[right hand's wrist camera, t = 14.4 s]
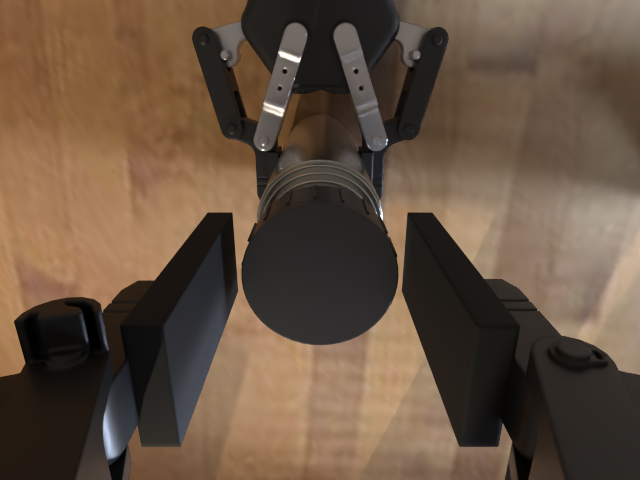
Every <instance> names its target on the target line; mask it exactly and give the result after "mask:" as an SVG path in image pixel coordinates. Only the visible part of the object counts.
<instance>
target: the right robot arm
mask: <svg viewBox="0 0 640 480" xmlns="http://www.w3.org/2000/svg"><path fill="white" fill-rule="evenodd" d="M237 293H238V284H237V270H236V256H235V242H234V229H233V215H232V213H207V214H206V216H205V217H204V218H203V220H202V221H201V222H200V223H199V225H198V226H197V227H196V229H195V230H194V231H193V232H192V234H191V235H190V236H189V237H188V239H187V240H186V241H185V243H184V244H183V245H182V246H181V248H180V249H179V250H178V252H177V253H176V254H175V255H174V257H173V258H172V259H171V260H170V262H169V263H168V264H167V266H166V267H165V268H164V269H163V271H162V272H161V273H160V275H159V276H158V277H157V278H156V280H155V281H137V282H135V283H133V284H132V285H130V286H128V287H126V288H125V289H123V290H121V291H120V293H119V294H118V295H117V296H116V297H115V298H114V299H113V300H112V303H110V304H109V305H108V306H107V307H106V308H105V309H104V310H103V313H102V309H101V304H100V303H99V302H97V301H96V300H94V299H90V298H84V297H72V298H63V299H58V300H53V301H49V302H46V303H44V304H41V305H38V306H35V307H33V308H31V309H29V310H28V311H26V312H24V313H22V314H21V315H20V316H19V317H18V318H17V319H16V320H15V321H14V323H15V327H16V330H17V334H18V338H19V341H20V345H21V348H22V352H23V355H24V359H25V363H26V364H25V365H24V367H23V369H22V371H21V373H19V374H14V375H9V376H4V377H0V480H129V476H130V469H131V457H130V451H129V446H128V442H129V440H130V438H131V436H132V434H133V432H134V430H135V428H136V426H137V424H138V429H139V434H140V440H141V445H142V447H181V444H182V441H183V439H184V436H185V433H186V431H187V428H188V425H189V422H190V420H191V417H192V414H193V412H194V409H195V406H196V403H197V401H198V398H199V395H200V393H201V390H202V387H203V385H204V382H205V379H206V376H207V374H208V371H209V368H210V366H211V363H212V360H213V357H214V355H215V352H216V349H217V347H218V344H219V341H220V339H221V336H222V333H223V330H224V328H225V325H226V322H227V320H228V317H229V314H230V311H231V309H232V306H233V303H234V301H235V298H236V295H237ZM402 293H403V295H404V298H405V301H406V303H407V306H408V309H409V311H410V314H411V317H412V320H413V322H414V325H415V328H416V330H417V333H418V336H419V339H420V341H421V344H422V347H423V349H424V352H425V355H426V357H427V360H428V363H429V366H430V368H431V371H432V374H433V376H434V379H435V382H436V385H437V387H438V390H439V393H440V395H441V398H442V401H443V403H444V406H445V409H446V412H447V414H448V417H449V420H450V422H451V425H452V428H453V431H454V433H455V436H456V439H457V441H458V444H459V447H498V445H499V440H500V434H501V429H502V423H503V424H504V426H505V428H506V430H507V432H508V434H509V436H510V438H511V440H512V446H511V451H510V456H509V461H508V466H507V471H506V476H505V480H640V375H637V374H631V373H626V372H622V371H619V370H618V368H617V366H616V365H615V363H614V362H613V360H612V359H611V358H610V357H609V356H608V355H607V354H606V353H605V352H603V351H602V350H600V349H599V348H597V347H595V346H594V345H591V344H589V343H586V342H584V341H581V340H579V339H574V338H570V337H565V336H561V335H560V334H559V333H558V331H557V330H556V329H555V328H554V327H553V326H552V325H551V324H550V323H549V322H548V320H547V319H546V318H545V317H544V316H543V315H542V314H541V313H540V312H539V311H537V308H536V307H535V306H534V305H533V304H532V303H531V302H529V299H528V298H527V297H526V296H525V295H524V294H523V293H522V292H521V291H520V290H519V289H518V288H517V287H515V286H513V285H511V284H510V283H508V282H506V281H504V280H502V279H484V278H483V277H482V276H481V275H480V273H479V272H478V271H477V269H476V268H475V267H474V266H473V264H472V263H471V262H470V260H469V259H468V258H467V257H466V255H465V254H464V253H463V252H462V250H461V249H460V248H459V246H458V245H457V244H456V243H455V241H454V240H453V239H452V237H451V236H450V235H449V234H448V232H447V231H446V230H445V229H444V227H443V226H442V225H441V223H440V222H439V221H438V220H437V218H436V217H435V216H434V214H433V213H408V215H407V229H406V243H405V256H404V270H403V284H402Z"/></svg>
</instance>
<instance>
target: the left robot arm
mask: <svg viewBox="0 0 640 480" xmlns="http://www.w3.org/2000/svg"><path fill="white" fill-rule="evenodd" d="M192 40H193V44H194V47H195V50H196V53H197V56H198V59H199V63H200V66H201V69H202V72H203V75H204V78H205V81H206V84H207V87H208V90H209V94H210V97H211V100H212V103H213V106H214V109H215V112H216V115H217V118H218V121H219V124H220V128H221V131H222V133H223V135H224V136H225V137H226V138H228V139H231V140H234V139H236V140H238V141H241V142H244V143H247V144H248V145H250V146H251V147H252V148H253V149H254V151H255V155H256V173H257V192H258V197H259V199H260V200H261V197H262V195H263V193H264V191H265V188H266V186H267V184H268V182H269V180H270V177H271V175H272V173H273V171H274V169H275V167H276V164H277V162H278V160H279V158H280V156H281V153H282V146H278V136H279V133H280V130H281V127H282V124H283V121H284V118H285V114H286V111H287V109H288V106H289V103H290V100H291V97H292V94H307V93H310V92H314V91H317V90H324V91H327V92H331V93H334V94H349V97H350V100H351V103H352V106H353V109H354V112H355V115H356V118H357V121H358V124H359V127H360V130H361V134H362V147H358V153H359V156H360V158H361V160H362V162H363V164H364V167H365V169H366V171H367V173H368V175H369V178H370V180H371V182H372V184H373V186H374V189H375V191H376V193H377V195H378V197H379V200H380V199H381V197H382V193H383V173H384V155H385V152H386V150H387V148H388V147H389V146H390V145H392V144H394V143H397V142H400V141H402V140H412V139H414V138H415V137H416V136H417V135H418V133H419V130H420V127H421V124H422V121H423V118H424V115H425V112H426V109H427V106H428V103H429V99H430V96H431V93H432V90H433V87H434V84H435V81H436V78H437V75H438V72H439V68H440V65H441V62H442V59H443V56H444V53H445V50H446V47H447V44H448V34H447V32H446V30H444V29H443V28H441V27H435V28H431V29H428V28H424V27H420V26H417V25H413V24H410V23H406V22H403V21H400V18H399V14H398V12H397V10H396V8H395V5H394V2H393V0H248V2H247V5H246V7H245V10H244V12H243V14H242V18H241V21H239V22H235V23H232V24H228V25H225V26H221V27H217V28H214V29H210V28H207V27H199V28H197V29H196V30H195V31H194V32H193V36H192ZM246 40H247V41H248V42H249V44H250V45H251V47H252V48H253V49H254V51H255V52H256V54H257V55H258V56H259V58H260V59H261V60H262V62H263V63H264V65H265V66H266V67H267V69H268V70H269V72H270V73H271V74H272V76H271V79H270V82H269V86H268V89H267V92H266V96H265V99H264V103H263V108H262V112H261V115H260V119H259V122H258V121H255V120H252V119H249V118H247V115H246V112H245V108H244V105H243V102H242V98H241V95H240V92H239V88H238V85H237V82H236V78H235V75H234V72H233V68H232V67H235V66H236V65H238V63H239V62H240V59H241V55H240V48H241V45H242V44H243V43H244V42H245V41H246ZM394 40H395V41H396V42H397V43H398V44H399V45H400V48H401V54H400V59H401V62H402V63H403V65H405V66H406V67H409V68H408V71H407V74H406V78H405V81H404V84H403V88H402V91H401V94H400V98H399V101H398V104H397V108H396V111H395V114H394V118H391V119H388V120H386V121H383V122H382V119H381V115H380V112H379V109H378V103H377V99H376V96H375V92H374V89H373V86H372V82H371V79H370V76H369V74H370V73H371V71H372V70H373V69H374V67H375V66H376V64H377V63H378V62H379V60H380V59H381V57H382V56H383V55H384V53H385V52H386V50H387V49H388V48H389V46H390V45H391V43H392V42H393V41H394Z"/></svg>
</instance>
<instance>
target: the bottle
mask: <svg viewBox="0 0 640 480" xmlns="http://www.w3.org/2000/svg"><path fill="white" fill-rule="evenodd" d="M314 185H317V186H330V187H335V188H340V187H341V188H343V190H346V191H348V192H350V193H353V194H355V195H356V196H358V197H360V198H361V199H363V198H364V199H365V200H366V203H367V204H369V205H370V206H371V207H372V208H373V210H374V211H375V212H376V213H377V215H378V216H381V217H382V219H383V214H382V208H381V203H380V200H379V197H378V195H377V193H376V191H375V189H374V186H373V184H372V182H371V180H370V178H369V175H368V173H367V171H366V169H365V167H364V164H363V162H362V160H361V158H360V156H359V153H358V151H357V149H356V147H355V145H354V142H353V140H352V138H351V136H350V134H349V132H348V130H347V128H346V127H345V126H344V125H343V124H342V123H341V122H340V121H339V120H337V119H336V118H334V117H331V116H328V115H321V114H319V115H312V116H309V117H306V118H305V119H303V120H301V121H300V122H299V123H298V124H297V125H296V126H295V127H294V128H293V130H292V132H291V134H290V136H289V138H288V140H287V143H286V145H285V147H284V149H283V151H282V153H281V156H280V158H279V160H278V162H277V164H276V167H275V169H274V171H273V173H272V175H271V177H270V180H269V182H268V184H267V186H266V188H265V191H264V193H263V195H262V197H261V200H260V203H259V207H258V214H257V223H258V221H259V219H260V217H261V216H262V214H263V213H264V212H265V211H266V209H267V207H268V205H269V204H272V203H274V202H275V201H276V200H277V199H279V198H280V197H282V196H283V195H285V194H287V193H288V192H289V191H290V190H292V191H294V190H297V189H300V188H305V187H310V186H314Z"/></svg>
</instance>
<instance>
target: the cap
mask: <svg viewBox="0 0 640 480" xmlns="http://www.w3.org/2000/svg"><path fill="white" fill-rule="evenodd" d="M387 233H388V231H387V229H386V227H385V224H384V222H383V219H382V217H381V216H378V215H377V213H376V212H375V211H374V210H373V208H372V207H371V206H370V205H369V204H367V203H366V200H365V199H364V198H363V199H361V198H360V197H358V196H356V195H355V194H353V193H350V192H348V191H346V190H343V188H341V187H340V188H335V187H330V186H317V185H314V186H310V187H305V188H300V189H297V190H294V191H292V190H290V191H289V192H288V193H287V194H285V195H283V196H282V197H280V198H279V199H277V200H276V201H275V202H274V203H272V204H269V205H268V207H267V209H266V211H265V212H264V213H263V214H262V216H261V217H260V219H259V221H258V223H255V224H254V226H253V229H252V231H251V234H250V236H249V238H248V242H249V244H248V246H247V249H246V251H245V255H244V258H243V261H242V285H243V290H244V293H245V296H246V299H247V301H248V303H249V305H250V307H251V308H252V310H253V311H254V313H255V314H256V316H257V317H258V318H259V319H260V320H261V321H262V322H263V323H264V324H265V325H266V326H267V327H268V328H270V329H271V330H273V331H274V332H275V333H277V334H279V335H281V336H283V337H285V338H287V339H290V340H292V341H296V342H299V343H304V344H310V345H330V344H336V343H341V342H344V341H347V340H350V339H353V338H355V337H357V336H359V335H361V334H363V333H364V332H366V331H367V330H369V329H370V328H371V327H373V326H374V325H375V324H376V323H377V322H378V321H379V320H380V319H381V318H382V317H383V315H384V314H385V313H386V311H387V310H388V308H389V306H390V305H391V303H392V301H393V298H394V296H395V293H396V289H397V284H398V264H397V258H396V257H397V254H396V251H395V249H394V246H393V244H392V241H391V239H390V237H388V234H387Z"/></svg>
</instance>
